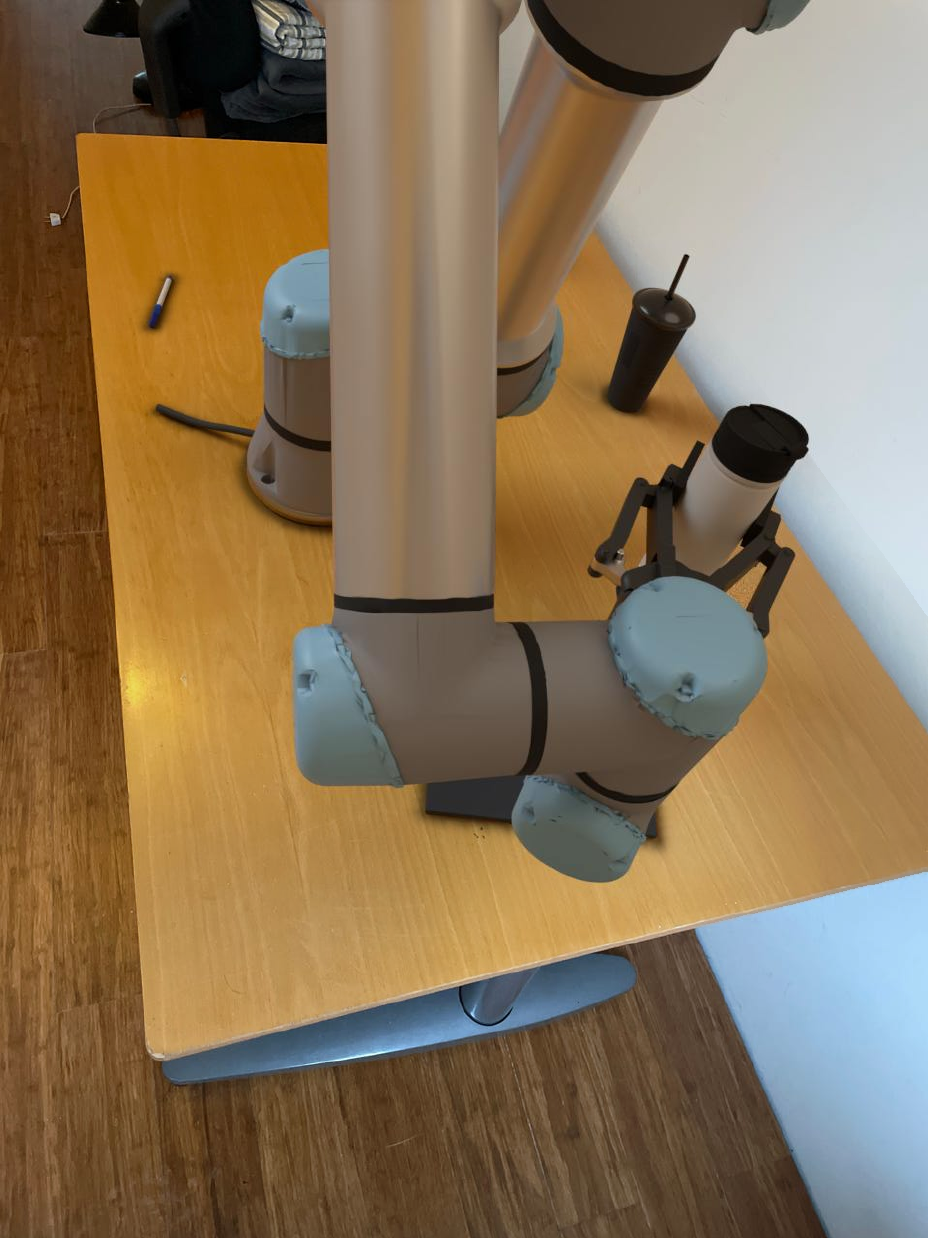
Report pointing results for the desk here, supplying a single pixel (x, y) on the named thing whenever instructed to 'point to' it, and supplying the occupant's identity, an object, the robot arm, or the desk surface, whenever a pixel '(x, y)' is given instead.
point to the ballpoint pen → (160, 302)
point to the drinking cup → (649, 342)
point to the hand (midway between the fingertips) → (731, 471)
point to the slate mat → (484, 799)
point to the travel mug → (734, 483)
